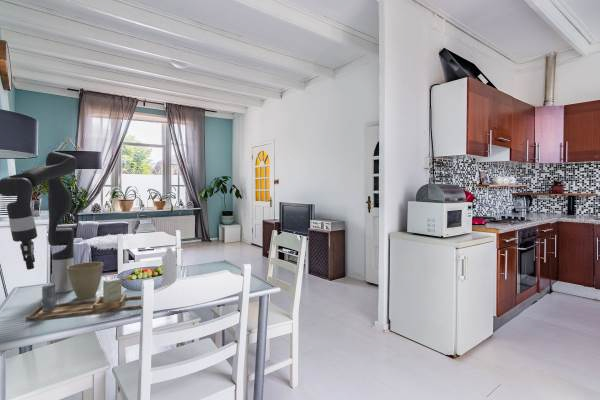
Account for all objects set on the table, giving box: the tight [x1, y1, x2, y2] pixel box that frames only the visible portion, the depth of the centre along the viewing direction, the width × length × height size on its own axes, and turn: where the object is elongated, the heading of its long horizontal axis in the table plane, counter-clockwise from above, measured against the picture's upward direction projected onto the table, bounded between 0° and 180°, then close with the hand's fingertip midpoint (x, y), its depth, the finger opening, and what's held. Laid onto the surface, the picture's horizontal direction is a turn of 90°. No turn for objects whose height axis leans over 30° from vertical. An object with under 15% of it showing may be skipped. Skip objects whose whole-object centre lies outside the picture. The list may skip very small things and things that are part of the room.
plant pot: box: [67, 261, 104, 300], centre depth 156 cm, size 15×15×16 cm
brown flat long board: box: [25, 294, 142, 322], centre depth 141 cm, size 44×15×2 cm, turn 111°
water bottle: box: [161, 245, 180, 287], centre depth 155 cm, size 9×6×25 cm
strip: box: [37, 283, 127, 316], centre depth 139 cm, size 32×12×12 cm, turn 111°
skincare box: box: [102, 277, 122, 303], centre depth 143 cm, size 6×4×12 cm
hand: (31, 265), depth 128 cm, fingers open, 8 cm apart
